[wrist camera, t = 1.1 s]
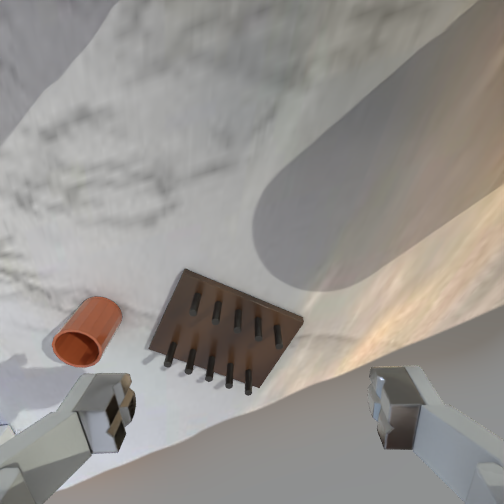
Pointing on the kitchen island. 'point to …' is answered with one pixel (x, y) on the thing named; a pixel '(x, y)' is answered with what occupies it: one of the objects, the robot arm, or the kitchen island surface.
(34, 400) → the kitchen island surface
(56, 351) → the cup
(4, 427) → the milk carton
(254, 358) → the rack
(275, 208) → the kitchen island surface
